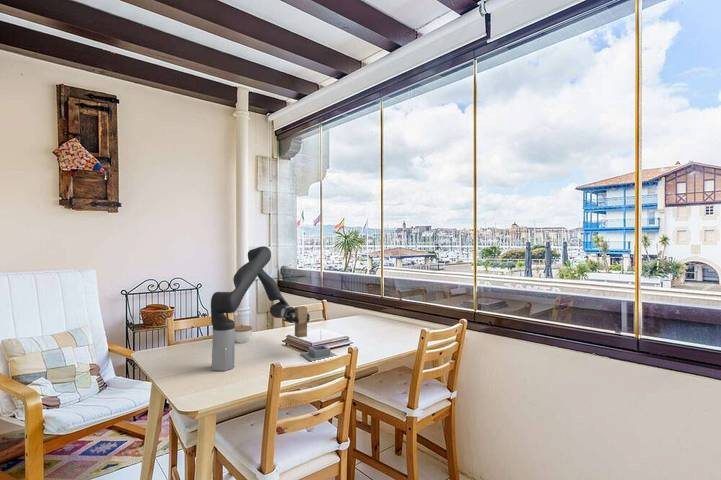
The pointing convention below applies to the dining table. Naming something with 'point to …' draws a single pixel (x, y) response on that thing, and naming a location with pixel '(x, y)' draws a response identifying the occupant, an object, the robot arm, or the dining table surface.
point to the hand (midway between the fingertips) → (303, 320)
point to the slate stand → (317, 353)
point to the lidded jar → (242, 333)
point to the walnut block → (301, 321)
